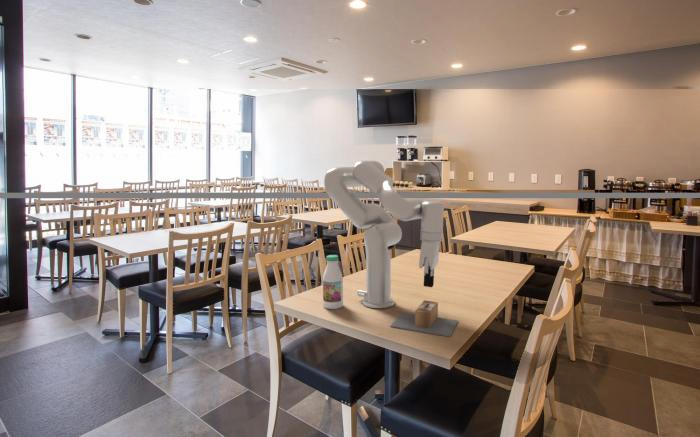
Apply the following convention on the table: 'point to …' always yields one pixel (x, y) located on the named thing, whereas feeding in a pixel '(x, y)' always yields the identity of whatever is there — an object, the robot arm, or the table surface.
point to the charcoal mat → (437, 328)
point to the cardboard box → (426, 313)
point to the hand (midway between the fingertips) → (428, 286)
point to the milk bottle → (332, 284)
